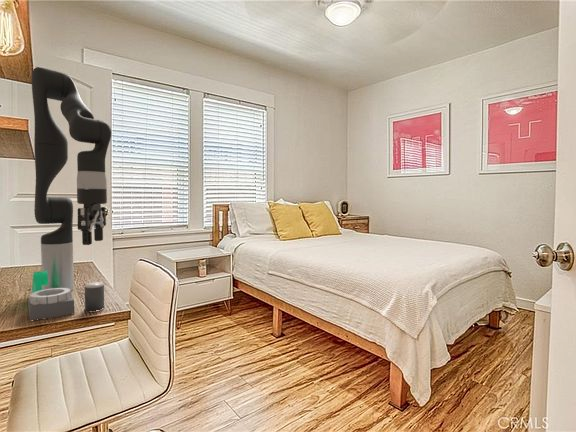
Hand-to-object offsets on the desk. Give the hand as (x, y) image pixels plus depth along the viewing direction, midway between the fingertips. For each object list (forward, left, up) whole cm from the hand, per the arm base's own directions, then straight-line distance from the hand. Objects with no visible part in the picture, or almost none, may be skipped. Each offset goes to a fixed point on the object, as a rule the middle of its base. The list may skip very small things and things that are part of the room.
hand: (93, 242), depth 98 cm
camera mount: (-10, -17, -20) cm, 28 cm away
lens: (0, 0, -20) cm, 20 cm away
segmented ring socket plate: (+1, -11, -20) cm, 23 cm away
